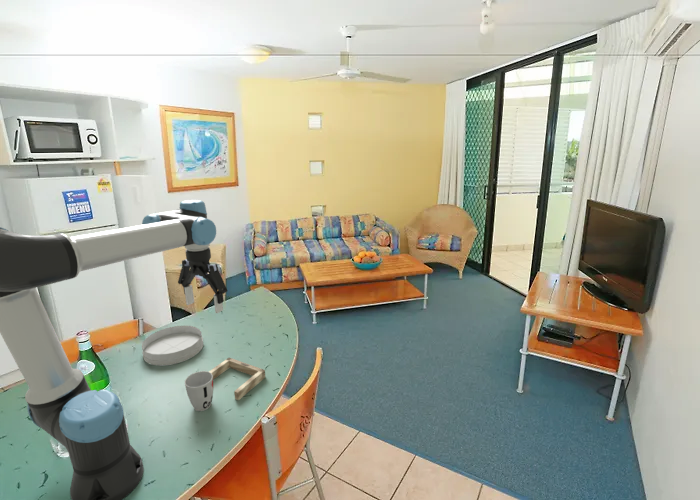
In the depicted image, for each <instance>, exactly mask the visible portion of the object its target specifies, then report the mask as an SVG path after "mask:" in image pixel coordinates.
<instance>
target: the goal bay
mask: <svg viewBox="0 0 700 500" xmlns="http://www.w3.org/2000/svg"><path fill="white" fill-rule="evenodd" d="M229 369H233V370H236V371H237V372H241V373H244V374H247V375H249V376H251V377H250V378H249V379H247V380H245V382H244V383H242V384H241V385H240V386H239V387H237V388H236V389H235V390H234V391H233V393H234V394H233V396H234V399H235V400H237V401H240V400H241V399H242V398H243V397H245V395H247V394H248V393H249V392H250V391H251V390H253V388H255V387H256V386H257V385H258V384H260V383H261V382H262V381H263V380H264V379H266V370H265V369H263V368H260V367H257V366H254V365H251V364H249V363H247V362H243V361H240V360H237V359H235V358H231V357H227V358H226V359H225V360H224V361H222V362H220V363H219V364H217V365H216V366H214V367H213V368H212V369H210V370H209V371H208V372H210V373H211V374H212V375H213V381H214V380H215V379H216V378H218V377H219V376H221V374H223V373H224V372H226V371H227V370H229Z"/></svg>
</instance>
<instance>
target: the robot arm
mask: <svg viewBox="0 0 700 500" xmlns="http://www.w3.org/2000/svg"><path fill="white" fill-rule="evenodd" d="M216 236H217V227H216V225H215V223H214V221H213V220H211V219H209V218H208V213H207V208H206V203H205V201H203V200H200V199H199V200H198V199H190V200H189V199H186V200H183V201H180V203H179V209H178V208H177V209H174V210H168V211H167V210H166V211H162V212H154V213H150V214H147V215H145V216H144V217H143V219H142V222H141V224H138V225H133V226H128V227H122V228H116V229H110V230H109V229H108V230H103V231H97V232H92V233H85V234H79V235H74V236H68V235H66V234H64V233H55V234H46V235H34V234H33V235H32V234H31V235H30V234H22V233H19V232H14V231H10V230H8V229H6V228H4V227H0V335H1V337H2V339H3V341H4V343H5V345H6V346H7V349H8V351H9V352H10V354H11V356H12V358H13V360H14V361H15V364H16V365H17V367H18V369H19V371H20V373H21V375H22V377H23V379H24V380H25V383H26V384H27V386H28V389H27V391H26V393H25V396H24V400H25V402H26V403H27V406H26V407H27V408H26V409H27V414H28V416H29V418H30V420H31V421H32V422H33V424H34V425H35V426H37V427H38V428H40V429H42V430H43V431H45V433H47V434H49V435H50V436H51V437H52V438H53V439H54V440H56V441H58V443H60V444H61V445H62V446H64V447H65V449H66V451H67V453H68V456H69V459H70V462H71V463H70V464H71V466H72V469H73V472H72V478H71V482H70V483H71V484H70V490H69V496H70V499H71V500H123V499H125V498H126V497H127V496H128V495H130V494H131V493H132V492H133V491H134V490H135V489H136V487H138V485H139V483H140V482H141V479H143V476H144V471H145V468H144V463H143V458H142V457H141V455H140V454H139V453H138V451H136V450H135V448H134V447H133V446H132V445H131V442H130V439H129V433H128V428H127V425H126V419H125V415H124V414H125V413H124V407H123V405H122V402H121V401H120V398H119V397H118V395H117V394H116V393H115V392H113V391H111V390H107V389H100V390H97V389H94V390H93V389H92V390H91V388H90V386H89V383H88V382H87V379H86V378H85V376H84V373H83V371H82V370H81V369H78V368H72V365H71V363H70V361H69V358H68V357H67V354H66V352H65V349H64V347H63V346H62V343H61V341H60V339H59V336H58V335H57V333H56V330H55V328H54V326H53V323H52V322H51V319H50V316H49V314H48V312H47V310H46V308H45V306H44V304H43V301H42V299H41V296H40V295H39V293H38V290H37V288H41V287H44V286H48V285H52V284H56V283H60V282H63V281H68V280H72V279H75V278H77V277H78V275H79V274H80V272H84V271H88V270H92V269H96V268H100V267H104V266H108V265H113V264H116V263H117V264H118V263H120V262H125V261H128V260H132V259H138V258H140V257H141V258H142V257H145V256H148V255H149V256H150V255H153V254H158V253H161V252H165V251H169V250H174V249H178V248H182V247H184V248H185V256H186V257H185V259H183V260H181V263H182V264H181V269H180V273H179V277H178V280H177V283H178V285H181V286H182V287H183V293H184V296H185V302H186V303H185V304H186V306H189V305H192V304H195V299H194V298H195V297H194V291H193V285H192V282H193V280H194V278H195V277H196V276H199V277H202V278H203V279H204V280H206V282H207V284H208V285H209V286H210V288H211V290H212V292H213V293H214V294H213V300H214V301H213V302H214V311H215V314H219V313H221V312H223V311H224V305H223V302H224V294H225V293H227V292H228V287H227V286H226V283H225V281H224V280H223V278H222V275H221V273H220V271H219V266H218V264H217V263H214V264H211V263H210V260H211V258H212V253H211V248H210V246H211V245H210V244H211V243H212V242H213V241H214V240H215V238H216Z"/></svg>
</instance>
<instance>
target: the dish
mask: <svg viewBox="0 0 700 500" xmlns="http://www.w3.org/2000/svg"><path fill="white" fill-rule="evenodd" d="M203 347H204V338H203V336H202V331H201V329H200V328H198V327H196V326H192V325H176V326H175V325H174V326H169V327H166V328H162V329H160V330H158V331H155V332H154V333H152V334H150V335H148V336H147V337H146V338H145V339H144V341H142V344H141V351H142V352H141V353H142V357H143V360H144V362H146V363H147V364H149V365H152V366H170V365H175V364H176V365H177V364H179V363H182V362H186V361H187V360H190V359H191V358H193V357H195V356H196V355H197V354H199V353H200V352H201V351H202V349H203Z"/></svg>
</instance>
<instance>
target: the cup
mask: <svg viewBox="0 0 700 500" xmlns="http://www.w3.org/2000/svg"><path fill="white" fill-rule="evenodd" d="M184 386H185V390H186V394H187V397H188V399H189V402H190V404H191V406H192V407H193V409H194V410H195V411H197V412H204V411H207V410H208V409H209V408H210V407H211V406H212V403H213V402H212V401H213V398H214V380H213V375H212V374H211V373H210V372H209V371H208V370H207V371H206V370H201V371H195V372H194V373H191V374H190V375H188V376H187V377H186V378H185V380H184Z"/></svg>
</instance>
